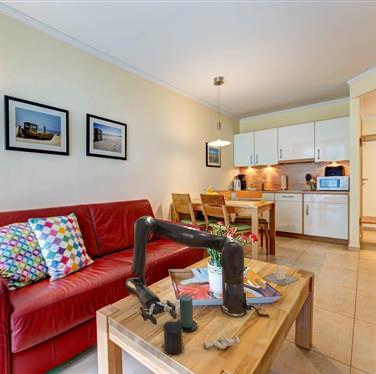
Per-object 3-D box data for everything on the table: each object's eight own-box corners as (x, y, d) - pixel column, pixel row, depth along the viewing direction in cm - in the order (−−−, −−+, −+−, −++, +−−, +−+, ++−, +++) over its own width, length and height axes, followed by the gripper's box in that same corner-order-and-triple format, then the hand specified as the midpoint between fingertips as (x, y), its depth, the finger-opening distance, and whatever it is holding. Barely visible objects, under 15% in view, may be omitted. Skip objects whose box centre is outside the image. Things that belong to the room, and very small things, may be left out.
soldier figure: (203, 343, 88) (231, 330, 89) (210, 358, 85) (239, 344, 86) (204, 339, 82) (234, 326, 83) (211, 355, 79) (242, 341, 80)
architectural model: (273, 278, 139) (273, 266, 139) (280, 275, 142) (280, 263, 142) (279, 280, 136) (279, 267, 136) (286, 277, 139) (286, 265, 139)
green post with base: (193, 319, 102) (192, 292, 101) (199, 331, 93) (198, 302, 93) (174, 320, 101) (173, 293, 101) (179, 333, 93) (178, 303, 92)
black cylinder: (180, 341, 88) (179, 320, 88) (184, 354, 82) (184, 331, 81) (163, 342, 88) (162, 321, 88) (166, 355, 81) (165, 333, 81)
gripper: (133, 295, 102) (148, 314, 87) (162, 288, 107) (181, 305, 92) (134, 312, 102) (149, 334, 87) (163, 304, 108) (182, 324, 92)
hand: (166, 319), depth 90 cm, fingers open, 8 cm apart
